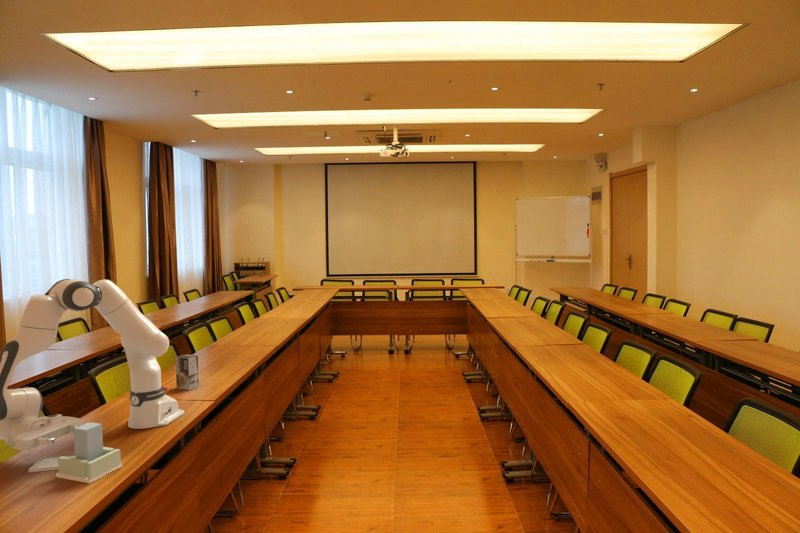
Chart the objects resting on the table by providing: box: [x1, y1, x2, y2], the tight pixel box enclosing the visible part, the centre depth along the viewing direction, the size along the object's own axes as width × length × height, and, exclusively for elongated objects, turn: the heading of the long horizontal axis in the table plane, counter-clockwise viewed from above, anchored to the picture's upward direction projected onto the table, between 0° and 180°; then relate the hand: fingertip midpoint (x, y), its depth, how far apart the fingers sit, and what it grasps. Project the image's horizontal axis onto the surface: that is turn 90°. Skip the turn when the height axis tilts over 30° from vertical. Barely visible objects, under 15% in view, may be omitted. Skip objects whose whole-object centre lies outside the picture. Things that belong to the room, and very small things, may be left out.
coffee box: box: [174, 354, 200, 391], centre depth 254 cm, size 9×6×16 cm
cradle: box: [55, 446, 123, 484], centre depth 163 cm, size 12×14×6 cm
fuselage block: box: [73, 422, 104, 462], centre depth 163 cm, size 6×6×14 cm
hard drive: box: [27, 455, 75, 473], centre depth 169 cm, size 2×8×12 cm
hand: (66, 436), depth 166 cm, fingers open, 8 cm apart
